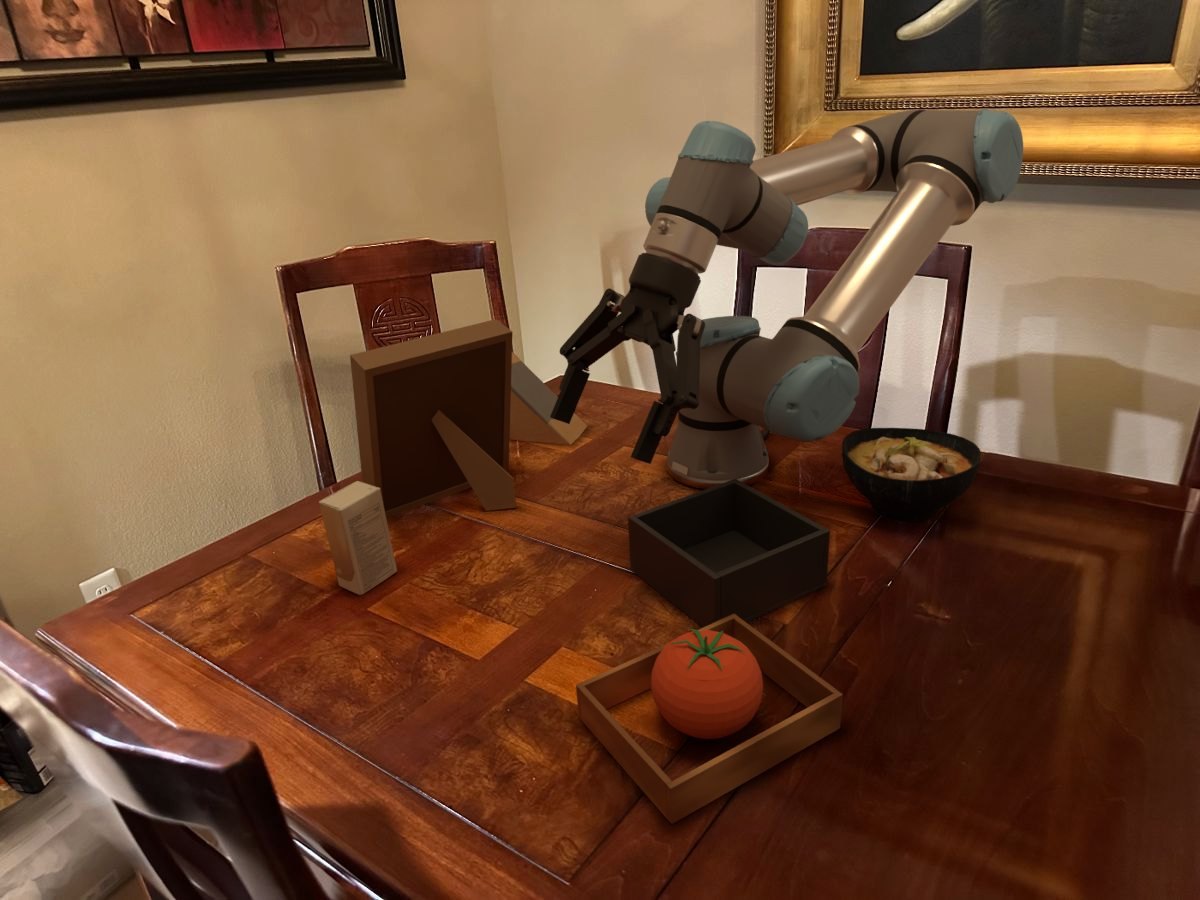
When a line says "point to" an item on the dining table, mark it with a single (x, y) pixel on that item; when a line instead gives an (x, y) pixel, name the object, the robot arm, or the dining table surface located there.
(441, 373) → the photo frame
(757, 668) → the tomato
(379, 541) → the cosmetic box
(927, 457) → the bowl
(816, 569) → the black square bin
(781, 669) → the box
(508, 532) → the dining table surface
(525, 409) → the sandwich container
